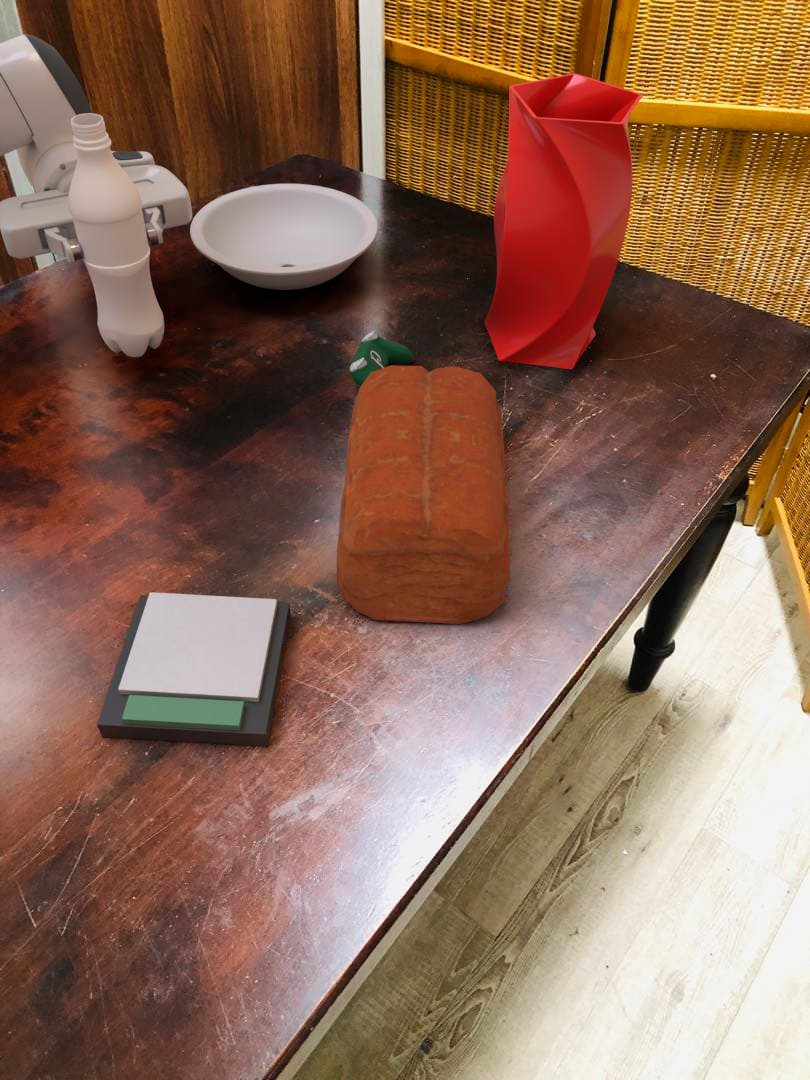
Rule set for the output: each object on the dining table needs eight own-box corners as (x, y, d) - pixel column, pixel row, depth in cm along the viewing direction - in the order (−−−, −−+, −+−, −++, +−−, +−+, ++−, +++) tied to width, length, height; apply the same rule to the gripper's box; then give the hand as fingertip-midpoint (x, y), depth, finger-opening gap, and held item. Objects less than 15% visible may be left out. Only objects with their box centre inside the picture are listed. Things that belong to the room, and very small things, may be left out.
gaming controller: (394, 369, 106) (359, 334, 104) (417, 353, 104) (381, 317, 101) (377, 416, 100) (339, 380, 97) (401, 400, 98) (363, 363, 95)
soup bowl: (158, 279, 115) (149, 232, 111) (278, 212, 129) (274, 167, 125) (300, 342, 106) (297, 293, 102) (412, 262, 120) (414, 216, 115)
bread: (496, 433, 96) (507, 350, 88) (509, 627, 77) (524, 545, 69) (353, 427, 96) (351, 344, 88) (332, 621, 77) (328, 537, 69)
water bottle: (90, 353, 100) (30, 126, 81) (126, 321, 104) (78, 99, 86) (145, 368, 98) (96, 140, 80) (179, 335, 103) (141, 112, 84)
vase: (466, 354, 106) (488, 111, 85) (493, 294, 115) (518, 63, 95) (592, 378, 103) (645, 133, 83) (608, 314, 113) (659, 81, 92)
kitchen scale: (101, 737, 69) (94, 719, 67) (144, 607, 78) (138, 589, 76) (267, 746, 68) (265, 729, 67) (291, 616, 77) (289, 597, 76)
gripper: (-25, 181, 94) (4, 238, 85) (162, 148, 101) (205, 198, 93) (-7, 237, 98) (22, 296, 90) (170, 201, 106) (212, 253, 97)
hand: (116, 246), depth 92 cm, fingers closed on water bottle, 7 cm apart
